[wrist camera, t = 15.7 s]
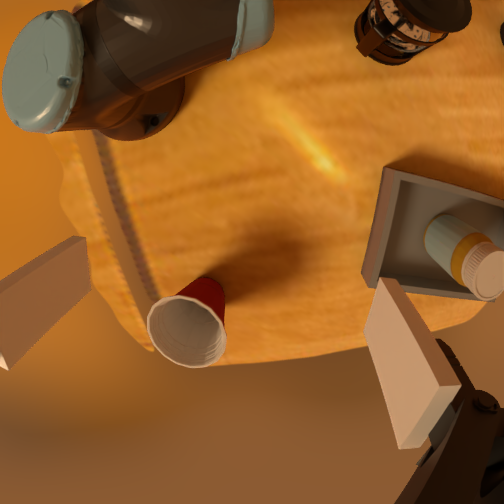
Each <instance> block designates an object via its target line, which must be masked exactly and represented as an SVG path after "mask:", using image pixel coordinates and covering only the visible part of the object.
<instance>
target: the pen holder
mask: <svg viewBox="0 0 504 504" xmlns="http://www.w3.org/2000/svg"><path fill="white" fill-rule="evenodd" d="M500 35H501V40H502V43H503V45H504V22H503V24H502V25H501V29H500Z"/></svg>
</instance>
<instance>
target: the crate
mask: <svg viewBox="0 0 504 504" xmlns="http://www.w3.org/2000/svg"><path fill="white" fill-rule="evenodd" d="M442 214H449V215H452V216H454V217H456V218H457V219H459V220H461V221H463V222H464V223H466V224H468V225H470V226H471V227H473V228H475V229H476V230H478V231H480V232H481V233H483V234H485V235H486V236H487V237H489V238H490V239H491V241H492V242H493V244H494V245H495V246H497V247H499V248H500V249H502V250H503V251H504V200H502V199H499V198H496V197H493V196H490V195H487V194H484V193H481V192H478V191H474V190H471V189H468V188H465V187H461V186H458V185H454V184H451V183H447V182H444V181H440V180H436V179H433V178H429V177H425V176H421V175H417V174H413V173H409V172H405V171H401V170H396V169H392V168H388V167H383V171H382V177H381V183H380V188H379V194H378V199H377V204H376V209H375V214H374V219H373V223H372V228H371V232H370V237H369V241H368V246H367V250H366V254H365V258H364V262H363V266H362V270H361V274H362V276H363V278H364V280H365V282H366V284H367V286H368V288H375V289H376V288H377V285H378V281H379V278H380V277H384V278H392V279H396V280H397V282H398V283H399V284H400V286H401V287H402V289H403V290H404V292H408V293H416V294H424V295H433V296H442V297H450V298H459V299H468V300H477V301H484V300H481V299H479V298H477V297H476V296H475V295H474V294H473V293H472V292H471V291H470V290H469V288H468V287H465V286H462V285H460V284H459V283H458V282H456V281H455V280H454V279H453V278H452V277H451V276H450V275H449V274H448V273H447V272H446V271H445V270H444V269H443V268H442V267H441V266H440V265H439V264H438V263H437V262H436V261H435V260H434V259H433V258H432V257H431V256H430V255H429V254H428V253H427V252H426V250H425V247H424V242H423V236H424V232H425V229H426V227H427V225H428V224H429V222H430V221H431V220H432V219H433V218H435V217H436V216H438V215H442ZM495 300H496V298H494V299H492V300H489V301H487V302H495Z"/></svg>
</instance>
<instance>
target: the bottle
mask: <svg viewBox="0 0 504 504" xmlns="http://www.w3.org/2000/svg"><path fill="white" fill-rule="evenodd" d="M423 242H424V247H425V250H426V252H427V253H428V254H429V255H430V256H431V257H432V258H433V259H434V260H435V261H436V262H437V263H438V264H439V265H440V266H441V267H442V268H443V269H444V270H445V271H446V272H447V273H448V274H449V275H450V276H451V277H452V278H453V279H454V280H455V281H456V282H458V283H459V284H460V285H462V286H465V287H468V288H469V290H470V291H471V292H472V293H473V294H474V295H475V296H476V297H477V298H479V299H481V300H484V301H489V300H492V299H494V298H496V297H498V296H499V295H500V294H501V293H502V292H503V291H504V251H503V250H502V249H500V248H499V247H497V246H495V245H494V244H493V242H492V241H491V239H490V238H489V237H487V236H486V235H485V234H483V233H481V232H480V231H478V230H476V229H475V228H473V227H471V226H470V225H468V224H466V223H464V222H463V221H461V220H459V219H457V218H456V217H454V216H452V215H449V214H442V215H438V216H436V217H435V218H433V219H432V220H431V221H430V222H429V224H428V225H427V227H426V229H425V232H424V236H423Z"/></svg>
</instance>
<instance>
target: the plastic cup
mask: <svg viewBox="0 0 504 504" xmlns="http://www.w3.org/2000/svg"><path fill="white" fill-rule="evenodd" d="M224 300H225V295H224V292H223V289H222V287H221V286H220V284H219V283H218V282H216V281H215V280H213V279H211V278H205V277H204V278H199V279H196V280H194V281H193V282H191V283H190V284H189V285H188V286H186V287H185V288H183V289H182V290H181V291H180V292H178V293H177V294H176V295H174V296H170V297H164V298H163V299H161V300H160V301H158V302H157V303H156V304H154V305H153V306H152V308H151V310H150V312H149V315H148V316H147V331H148V333H149V336H150V338H151V340H152V343H153V345H154V346H155V347H156V348H157V349H158V350H159V351H160V353H161V354H162V355H163V356H165V357H166V358H168V359H169V360H171V361H172V362H174V363H176V364H179V365H182V366H186V367H189V368H199V367H207V366H209V365H211V364H213V363H215V362H217V361H218V360H219V358H220V357H221V356H222V354H223V353H224V351H225V347H226V339H227V335H226V332H225V328H224V313H225V303H224Z"/></svg>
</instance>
